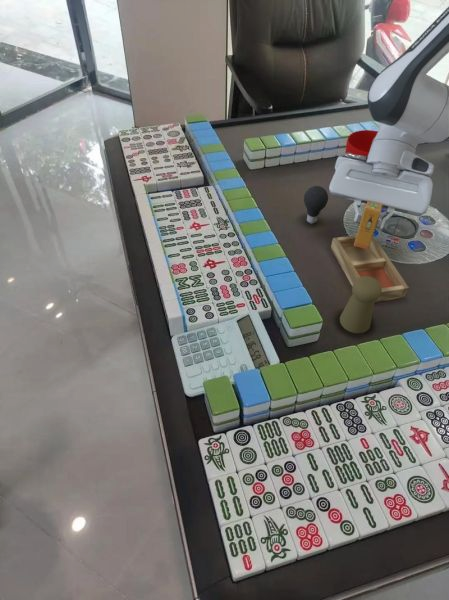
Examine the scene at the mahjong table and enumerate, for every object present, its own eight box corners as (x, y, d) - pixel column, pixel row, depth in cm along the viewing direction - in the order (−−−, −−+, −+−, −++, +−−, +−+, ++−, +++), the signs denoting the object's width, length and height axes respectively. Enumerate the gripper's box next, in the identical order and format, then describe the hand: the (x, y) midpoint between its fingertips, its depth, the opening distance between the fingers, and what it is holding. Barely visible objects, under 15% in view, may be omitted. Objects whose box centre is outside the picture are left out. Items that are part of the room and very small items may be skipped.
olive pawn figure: (336, 310, 87) (348, 271, 79) (365, 309, 88) (380, 270, 80) (344, 334, 83) (357, 295, 75) (374, 332, 84) (391, 294, 76)
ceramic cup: (321, 178, 120) (328, 145, 113) (358, 158, 128) (366, 125, 120) (359, 199, 114) (369, 164, 106) (395, 176, 121) (407, 142, 114)
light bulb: (326, 220, 107) (334, 186, 100) (316, 232, 104) (323, 197, 97) (306, 213, 110) (312, 178, 102) (295, 224, 106) (301, 189, 99)
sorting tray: (368, 242, 102) (371, 232, 100) (404, 297, 90) (409, 287, 88) (330, 247, 101) (332, 237, 98) (362, 304, 89) (365, 294, 86)
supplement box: (371, 241, 95) (384, 203, 88) (367, 250, 93) (380, 212, 86) (356, 237, 96) (367, 199, 89) (352, 246, 94) (364, 208, 87)
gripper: (339, 145, 89) (318, 210, 90) (443, 167, 84) (419, 236, 85) (339, 155, 95) (320, 216, 96) (436, 176, 90) (414, 240, 91)
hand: (367, 226), depth 91 cm, fingers closed on supplement box, 3 cm apart
